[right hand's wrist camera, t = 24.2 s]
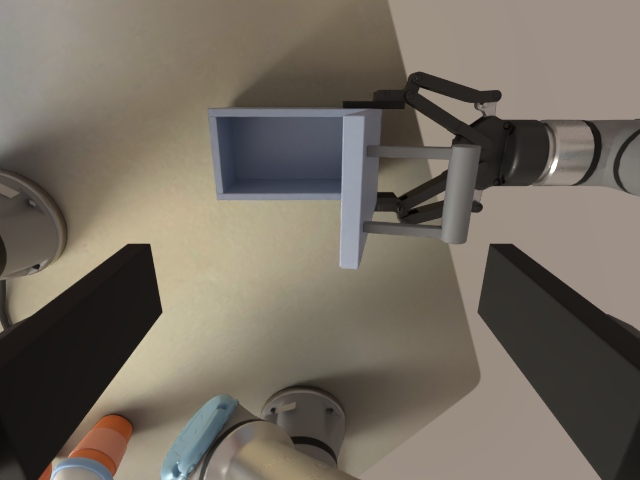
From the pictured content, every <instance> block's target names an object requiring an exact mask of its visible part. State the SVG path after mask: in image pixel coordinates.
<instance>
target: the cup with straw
mask: <svg viewBox="0 0 640 480" xmlns="http://www.w3.org/2000/svg"><path fill="white" fill-rule="evenodd" d="M132 431H133V429H132V426H131V424H130V423H129V421H127V420H126V419H125V418H123V417H121V416H117V415H108V416H105V417H103V418H102V419H101V420H100V421H99V422H98V423H97V424H96V425H95V427H94V428H93V429H92V430H91V431H89V432H88V433H87V434H86V436H85V437H84V438H83V439H82V440H81V442H80V443H79V444H78V445H77V446H76V448H75V449H74V450H73V451H72V452H71V454H70V455H69V457H68V459H66V460H64V461H62V462H60V463H59V464H58V465H57V466H56V468H55V469H54V471H53V473H52V476H51V480H113V476H114V475H115V473H116V471H117V469H118V467H119V465H120V462H121V460H122V458H123V455H124V453H125V451H126V448H127V444H128V441H129V439H130V437H131V435H132Z"/></svg>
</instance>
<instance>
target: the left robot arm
mask: <svg viewBox="0 0 640 480" xmlns="http://www.w3.org/2000/svg"><path fill="white" fill-rule="evenodd" d="M420 87H421V88H424V89H427V90H430V91H433V92H436V93H439V94H442V95H445V96H449V97H452V98H455V99H458V100H461V101H464V102H469V103H474V107H475V109H476V110H480V111H481V112H482V113H483V116H482V117H481V118H479V119H478V120H476V121H475V122H473V123H472V124H470V125H467V124H466V123H464V122H462V121H460V120H458V119H457V118H455V117H454V116H452V115H451V114H449V113H448V112H446V111H444V110H443V109H441V108H440V107H438V106H437V105H435V104H434V103H432V102H431V101H429V100H428V99H426V98H425V97H423V96H421V95H420V94H418V90H419V88H420ZM501 96H502V95H501V92H500V91H499V90H491V91H478V90H475V89H472V88H469V87H466V86H463V85H460V84H457V83H454V82H450V81H448V80H445V79H442V78H438V77H435V76H432V75H429V74H426V73H423V72H416V73H413V74H411V75H410V76H409V77H408V82H407V84H406V86H405V88H404V89H402V90H378V91H376V92H374V96H373V101H343V108H344V109H404V105H405V103H407V104H408V105H410V106H411V107H413V108H415V109H416V110H418V111H419V112H421V113H422V114H424V115H425V116H427V117H429V118H430V119H432V120H433V121H435V122H436V123H438V124H440V125H441V126H443V127H444V128H446V129H447V130H448V131H450V132H451V133H453V134H454V135H456V137H455V139H453V140H452V145H454V144H470V145H478V146H481V152H480V158H479V164H478V171H477V177H476V183H475V190H474V196H473V203H472V209H471V212H476V213H478V212H480V211H481V210H482V209H483V206H482V204H481V203H480V200H481V195H482V191H483V190H484V189H486V188H488V187H491V186H529V185H533V186H604V187H611V188H614V189H617V190H621V191H624V192H627V193H629V194H633V195H636V196H639V197H640V119H635V120H593V121H586V120H541V121H538V120H501V119H499V118H498V117H496V116H495V111H496V102H498V101H499V100H500V99H501ZM447 175H448V170H446V171H444V172H443V173H442V174H441V175H439V176H437V177H435V178H433V179H432V180H430V181H428V182H426V183H424V184H422V185H420V186H418V187H417V188H415V189H413V190H411V191H409V192H407V193H405V194H403V195H402V196H400V197H398V198H397V197H396V195H395V194H394V193H393V192H377V202H376V205H375V209H374V211H393V212H396V214H397V218H398V220H399V221H400V223H404V224H418V223H422V222H426V221H430V220H433V219H437V218H441V217H442V214H443V206H444V200H443V201H439V202H436V203H432V204H428V205H424V206H421V207H417V208H413V207H415V206H416V205H418V204H420V203H422V202H424V201H426V200H428V199H430V198H432V197H434V196H436V195H437V194H439V193H441V192H443V191H445V190H446V182H447ZM411 208H413V209H411ZM409 209H410V210H409ZM345 428H346V421H345V413H344V410H343V408H342V406H341V404H340V403H339V401H338V400H337V399H336V398H335V397H333V396H332V395H331V394H329V393H327V392H325V391H323V390H321V389H318V388H314V387H307V386H298V387H291V388H287V389H284V390H282V391H279V392H278V393H276V394H274V395H273V396H272V397H271V398H269V399H268V401H267V402H266V403H265V405H264V407H263V409H262V412H261V417H260V418H259V417H256V416H255V415H253V414H252V413H250V412H249V411H248V410H246V409H245V408H244V407H243V406H242V405H240V404H239V401H238V400H235V399H233V398H232V397H231V396H229V395H227V394H220V395H217V396H215V397H213V398H212V399H211V400H209V401H208V402H207V403H206V404H205V405H204V406H203V407H201V408H200V409H199V410H198V412H197V413H196V414H195V415H194V416H193V417H192V418H191V420H190V421H189V422H188V423H187V425H186V426H185V427H184V428H183V430H182V431H181V433H180V434H179V435H178V437H177V438H176V440H175V442H174V443H173V445H172V446H171V448H170V450H169V452H168V454H167V456H166V458H165V460H164V462H163V465H162V469H161V480H360V479H358V478H356V477H354V476H352V475H349V474H347V473H345V472H343V471H341V470H339V469H337V458H338V455H339V451H340V448H341V445H342V441H343V438H344V435H345Z"/></svg>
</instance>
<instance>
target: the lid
mask: <svg viewBox="0 0 640 480" xmlns="http://www.w3.org/2000/svg"><path fill="white" fill-rule="evenodd" d="M381 120H382V109H368V110H364V111H360V112H356V113H352V114H347V115H344V116H343V148H342V190H341V232H340V268H349V269H358V268H359V265H360V261H361V257H362V254H363V250H364V246H365V242H366V239H367V235H368V233H377V234H390V235H404V236H418V237H431V238H440V240H441V241H443V242H446V243H450V244H463V243H465V242H466V241H467V234H468V228H469V221H470V215H471V209H472V203H473V196H474V190H475V183H476V177H477V171H478V164H479V158H480V152H481V146H478V145H470V144H454V145H452V146H451V147H424V146H386V145H380V136H381ZM379 157H385V158H416V159H447V160H449V167H448V175H447V182H446V190H445V198H444V206H443V214H442V221H441V226H434V225H419V224H404V223H389V222H374V221H371V220H372V217H373V213H374V209H375V205H376V202H377V187H378V170H379Z"/></svg>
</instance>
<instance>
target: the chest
mask: <svg viewBox="0 0 640 480" xmlns="http://www.w3.org/2000/svg"><path fill="white" fill-rule="evenodd" d="M364 110H368V109H344V108H343V107H222V108H209V109H208V116H209V127H210V137H211V147H212V156H213V166H214V176H215V186H216V193H217V194H216V195H217V200H341V190H342V148H343V116H344V115H347V114H352V113H356V112H360V111H364Z"/></svg>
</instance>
